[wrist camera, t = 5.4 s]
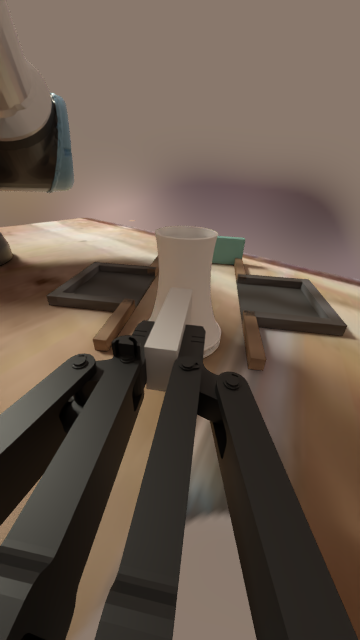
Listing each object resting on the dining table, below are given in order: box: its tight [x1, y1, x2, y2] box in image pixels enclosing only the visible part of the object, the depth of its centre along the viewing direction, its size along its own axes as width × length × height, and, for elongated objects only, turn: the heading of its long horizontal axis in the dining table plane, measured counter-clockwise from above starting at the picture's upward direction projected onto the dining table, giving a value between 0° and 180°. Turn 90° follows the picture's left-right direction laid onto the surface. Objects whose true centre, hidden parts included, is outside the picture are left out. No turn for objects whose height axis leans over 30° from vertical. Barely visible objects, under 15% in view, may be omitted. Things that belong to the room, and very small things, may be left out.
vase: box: [147, 226, 221, 358], centre depth 21 cm, size 8×8×10 cm
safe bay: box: [212, 236, 245, 265], centre depth 42 cm, size 1×15×4 cm, turn 82°
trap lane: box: [47, 256, 347, 371], centre depth 31 cm, size 27×33×1 cm
